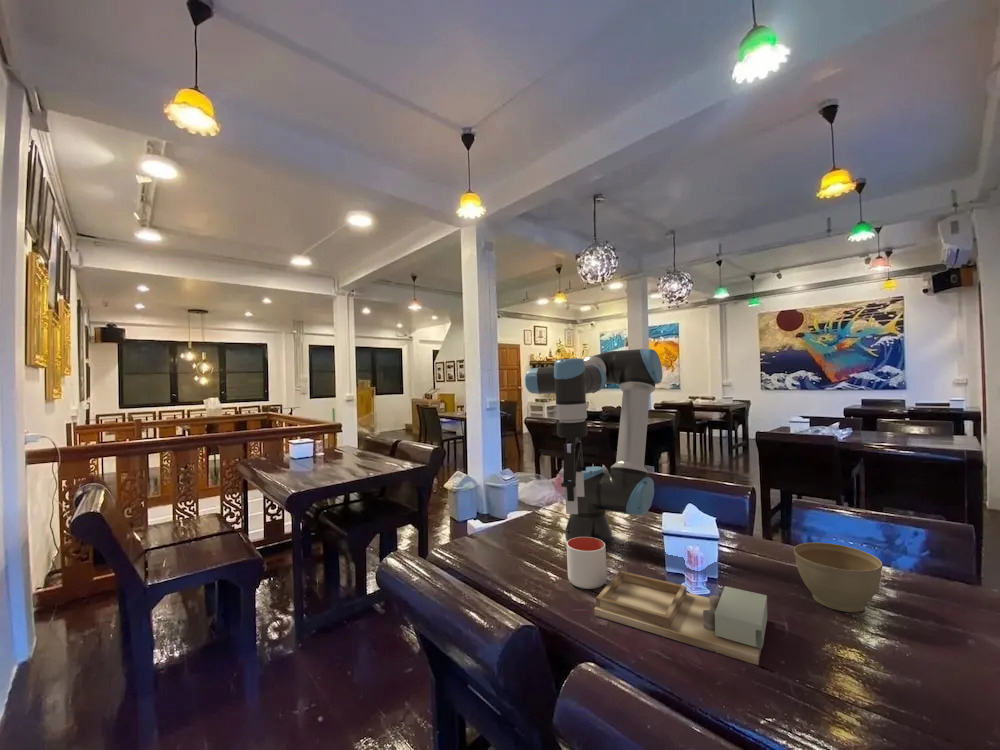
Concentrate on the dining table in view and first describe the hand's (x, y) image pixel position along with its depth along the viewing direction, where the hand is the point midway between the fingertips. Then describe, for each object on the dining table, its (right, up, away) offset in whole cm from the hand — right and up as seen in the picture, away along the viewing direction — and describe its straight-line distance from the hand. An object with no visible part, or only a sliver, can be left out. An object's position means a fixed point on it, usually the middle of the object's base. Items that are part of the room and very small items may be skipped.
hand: (575, 504), depth 110 cm
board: (+21, -21, -13) cm, 32 cm away
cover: (+31, -19, -20) cm, 41 cm away
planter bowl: (+59, -20, -9) cm, 63 cm away
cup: (+4, -22, +5) cm, 23 cm away
